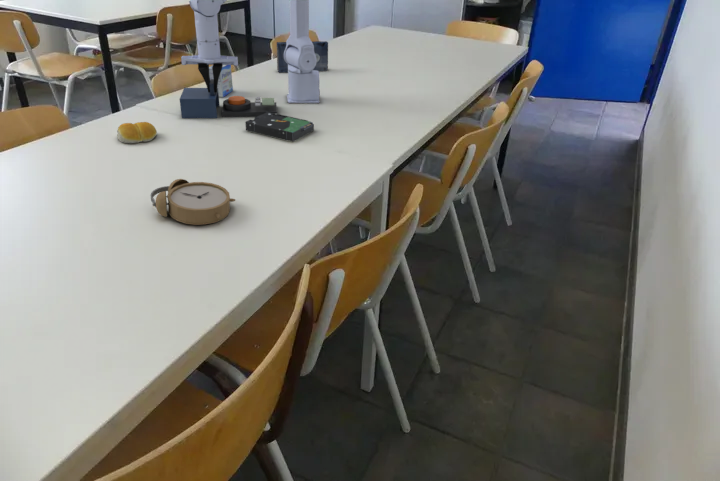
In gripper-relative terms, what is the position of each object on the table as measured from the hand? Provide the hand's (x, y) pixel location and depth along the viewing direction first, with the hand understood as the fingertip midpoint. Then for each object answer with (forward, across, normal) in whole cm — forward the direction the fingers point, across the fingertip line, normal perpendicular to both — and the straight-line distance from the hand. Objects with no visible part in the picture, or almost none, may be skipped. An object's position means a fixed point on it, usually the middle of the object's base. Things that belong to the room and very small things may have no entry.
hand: (212, 91), depth 151 cm
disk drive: (+6, +18, -16) cm, 25 cm away
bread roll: (+6, -17, -20) cm, 27 cm away
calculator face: (+3, +14, 0) cm, 14 cm away
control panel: (+6, +10, 0) cm, 11 cm away
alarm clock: (+6, 0, -59) cm, 59 cm away
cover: (+6, -4, 0) cm, 7 cm away
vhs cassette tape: (+6, +28, +47) cm, 55 cm away
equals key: (+3, +6, 0) cm, 7 cm away
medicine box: (+6, +1, +18) cm, 19 cm away
